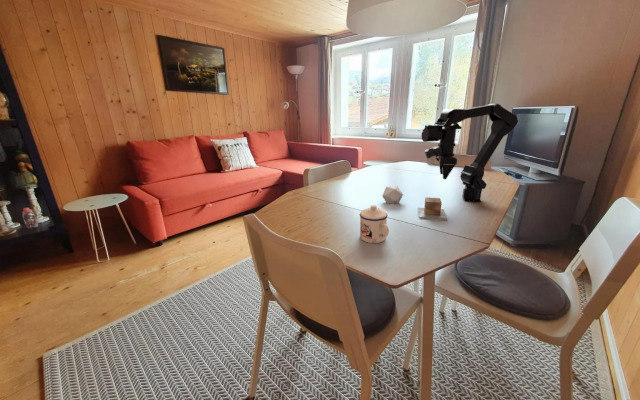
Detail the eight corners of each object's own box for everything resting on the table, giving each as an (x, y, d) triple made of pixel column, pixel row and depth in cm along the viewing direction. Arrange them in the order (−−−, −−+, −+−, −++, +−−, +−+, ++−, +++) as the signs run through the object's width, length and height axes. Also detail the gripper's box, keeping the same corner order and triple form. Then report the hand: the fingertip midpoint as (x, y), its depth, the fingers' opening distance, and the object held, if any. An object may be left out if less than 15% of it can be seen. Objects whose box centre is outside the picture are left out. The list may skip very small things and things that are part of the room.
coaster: (443, 210, 108) (443, 209, 108) (447, 220, 99) (447, 218, 99) (418, 209, 111) (418, 207, 111) (419, 218, 102) (419, 216, 102)
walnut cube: (438, 210, 107) (439, 198, 105) (440, 215, 102) (441, 202, 100) (424, 209, 108) (425, 197, 106) (425, 214, 103) (426, 201, 101)
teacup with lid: (354, 235, 91) (354, 204, 87) (375, 229, 94) (376, 199, 91) (375, 250, 81) (376, 216, 77) (398, 243, 84) (400, 210, 80)
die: (398, 209, 114) (408, 190, 114) (381, 199, 114) (391, 180, 114) (393, 208, 122) (402, 191, 123) (377, 200, 122) (386, 182, 123)
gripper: (425, 138, 120) (422, 171, 125) (428, 143, 103) (425, 181, 108) (451, 138, 116) (447, 171, 122) (459, 143, 100) (454, 182, 105)
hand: (443, 176), depth 114 cm, fingers open, 9 cm apart
